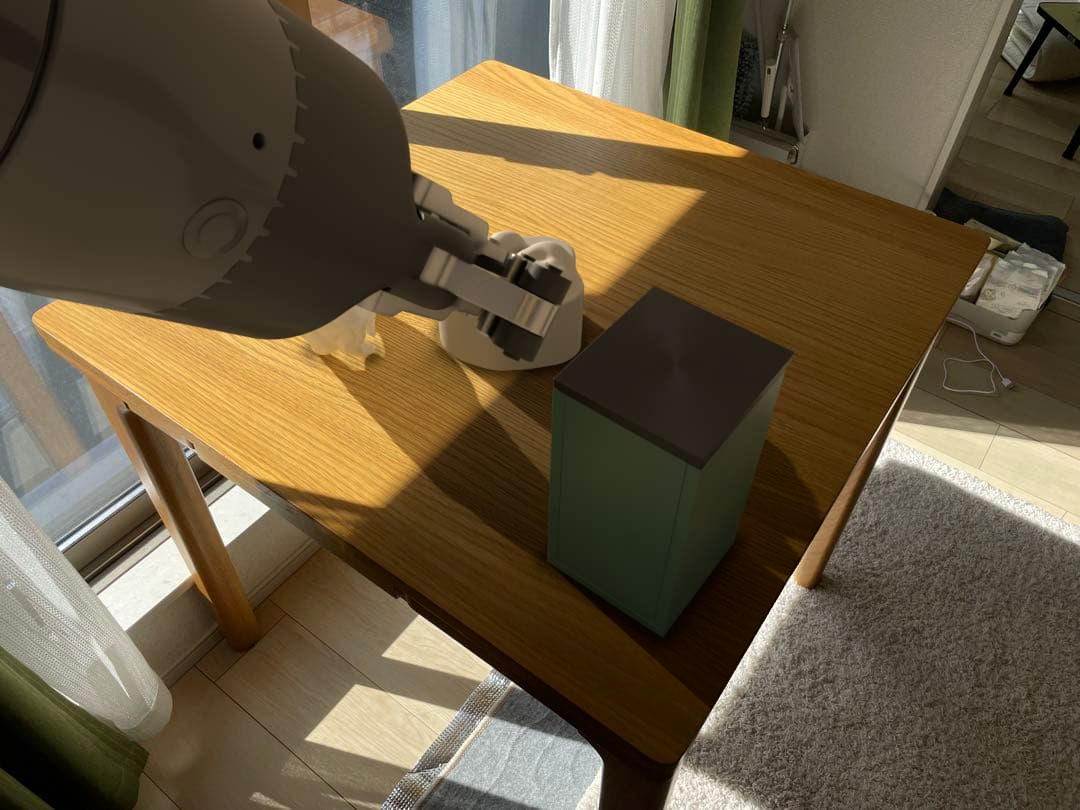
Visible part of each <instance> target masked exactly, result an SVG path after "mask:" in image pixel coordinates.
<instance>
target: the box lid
mask: <svg viewBox="0 0 1080 810" xmlns="http://www.w3.org/2000/svg"><path fill="white" fill-rule="evenodd" d="M795 354H796V353H795V351H794V350H791V349H790V348H788V347H786V346H784V345H781V344H779V343H777V342H774V341H773V340H770V339H768V338H767V337H764V336H762V335H760V334H758V333H755V332H753V331H751V330H749V329H747V328H745V327H743V326H741V325H739V324H737V323H735V322H733V321H730V320H728V319H726V318H723V317H722V316H720V315H718V314H715V313H713V312H711V311H709V310H707V309H705V308H702V307H700V306H698V305H696V304H694V303H693V302H690V301H689V300H686V299H684V298H681V297H680V296H678V295H675V294H673V293H671V292H668V291H667V290H664V289H662V288H661V287H658V286H656V285H653V286H651V287H650V288H649V289H648V290H647V291H646V292H645V293H644V294H643V295H642V296H640V298H639V299H637V301H636V302H634V303H633V304H632V305H631V306H630V307H629V308H628V309H627V310H625V312H624V313H622V314H621V315H620V316H619V317H618V318H617V319H616V320H615V321H613V323H612V324H610V326H608V327H607V328H606V329H605V330H604V331H603V332H602V333H600V335H598V336H597V337H596V339H594V340H593V341H592V342H591V343H590V344H589V345H588V346H587V347H586V348H584V350H582V351H581V352H580V353H579V354H578V355H576V356H575V358H573V359H572V361H570V362H569V363H568V364H567V365H566V366H565V367H564V368H563V369H562V370H561V371H560V372H559V373H557V375H555V377H553V381H552V387H553V388H556V389H557V390H559V391H561V392H563V393H565V394H566V395H568V396H570V397H572V398H574V399H575V400H577V401H579V402H581V403H583V404H584V405H586V406H588V407H590V408H592V409H593V410H595V411H597V412H599V413H600V414H602V415H604V416H606V417H608V418H609V419H611V420H613V421H615V422H617V423H618V424H620V425H622V426H624V427H626V428H627V429H629V430H631V431H633V432H635V433H636V434H638V435H640V436H642V437H644V438H645V439H647V440H649V441H651V442H652V443H654V444H656V445H658V446H660V447H661V448H663V449H665V450H667V451H669V452H670V453H672V454H674V455H676V456H678V457H679V458H681V459H683V460H685V461H687V462H688V463H690V464H692V465H694V466H696V467H697V468H699V469H702V468H703V467H704V466H705V465H706V464H707V462H708V461H709V460H710V459H711V458H712V456H713V455H714V454H715V453H716V452H717V450H718V449H719V448H720V447H721V446H722V444H723V443H724V442H725V441H726V440H727V438H728V437H729V436H730V435H731V434H732V432H733V431H734V430H735V429H736V428H737V426H738V425H739V424H740V423H741V422H742V420H743V419H744V418H745V417H746V416H747V414H748V413H749V412H750V411H751V410H752V408H753V407H754V406H755V405H756V404H757V402H758V401H759V400H760V399H761V398H762V396H763V395H764V394H765V393H766V392H767V390H768V389H769V388H770V387H771V386H772V384H773V383H774V382H775V381H776V380H777V378H778V377H779V376H780V375H781V374H782V372H783V371H784V370H785V369H786V370H787V368H788V367H789V365H790V364H791V363H792V362H793V360H794V356H795Z"/></svg>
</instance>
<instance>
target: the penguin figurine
mask: <svg viewBox="0 0 1080 810" xmlns="http://www.w3.org/2000/svg"><path fill="white" fill-rule="evenodd" d="M376 316H377V313H374V312H371V311H368V310H366V309H363V308H361V307H359V306H357V305H355V306H354V307H352V308H351V309H349V310H348V311H346V312H345V313H344V314H342V315H341V316H339V317H338V318H336V319H335V320H333V321H332V322H330V323H328V324H326V325H325V326H323V327H321V328H319V329H316V330H314V331H312V332H309V333H306V334H303V335H301V336H302V338H303V339H304V340H305V341H306V342H307V343H308V344H309V346H310V348H311V349H312V351H313V352H314V353H315V354H317V355H320V356H328V355H331V354H332V353H334V352H336V351H337V350H338V349H340V350H341V351H342V352H344V353H345V354H348V355H349V356H353V357H355V358H362V357H363V358H364V357H367V356H371V355H372V354H374V353H375V352H376V349H377V348H376V346H375V344H373V343H372V342H368V341H365V340H366V336H367V334H368V336H370V337H371V338H373V337H376Z"/></svg>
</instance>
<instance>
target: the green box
mask: <svg viewBox="0 0 1080 810" xmlns="http://www.w3.org/2000/svg"><path fill="white" fill-rule="evenodd" d="M786 371H787V368H786V369H785V370H784V371H783V372H782V374H781V375H780V376H779V377H778V378H777V380H776V381H775V382H774V383H773V384H772V386H771V387H770V388H769V389H768V390H767V392H766V393H765V394H764V395H763V396H762V398H761V399H760V400H759V401H758V402H757V404H756V405H755V406H754V407H753V408H752V410H751V411H750V412H749V413H748V414H747V416H746V417H745V418H744V419H743V420H742V422H741V423H740V424H739V425H738V426H737V428H736V429H735V430H734V431H733V432H732V434H731V435H730V436H729V437H728V438H727V440H726V441H725V442H724V443H723V444H722V446H721V447H720V448H719V449H718V450H717V452H716V453H715V454H714V455H713V456H712V458H711V459H710V460H709V461H708V462H707V464H706V465H705V466H704V467H703V468H702V469H699V468H697V467H696V466H694V465H692V464H690V463H688V462H687V461H685V460H683V459H681V458H679V457H678V456H676V455H674V454H672V453H670V452H669V451H667V450H665V449H663V448H661V447H660V446H658V445H656V444H654V443H652V442H651V441H649V440H647V439H645V438H644V437H642V436H640V435H638V434H636V433H635V432H633V431H631V430H629V429H627V428H626V427H624V426H622V425H620V424H618V423H617V422H615V421H613V420H611V419H609V418H608V417H606V416H604V415H602V414H600V413H599V412H597V411H595V410H593V409H592V408H590V407H588V406H586V405H584V404H583V403H581V402H579V401H577V400H575V399H574V398H572V397H570V396H568V395H566V394H565V393H563V392H561V391H559V390H557V389H556V388H554V387H553V388H552V404H551V433H550V434H551V435H550V436H551V437H550V462H549V463H550V464H549V468H550V469H549V491H548V492H549V493H548V494H549V495H548V496H549V497H548V523H547V524H548V525H547V526H548V527H547V553H546V555H547V559H546V561H547V563H548V564H550V565H551V566H553V567H555V568H556V569H557V570H558V571H561V572H562V573H563V574H565V575H566V576H568V577H570V578H571V579H573V580H574V581H576V582H577V583H579V584H581V585H582V586H583V587H585V588H587V590H589V591H590V592H593V593H594V594H596V595H597V596H598V597H600V598H602V599H603V600H604V601H606V602H608V603H609V604H610V605H612V606H614V607H615V608H616V609H618V610H620V611H621V612H623V613H624V614H626V615H628V616H629V617H630V618H632V619H634V620H635V621H636V622H638V623H639V624H641V625H642V626H644V627H646V628H647V629H649V630H650V631H652V632H653V633H654V634H656V635H658V636H659V637H661V638H664V637H665V635H666V634H667V633H668V632H669V630H670V629H671V628H672V626H673V625H674V623H675V622H676V621H677V619H678V618H679V617H680V615H681V614H682V613H683V611H684V610H685V609H686V607H687V606H688V605H689V603H690V602H691V601H692V599H693V598H694V596H695V595H696V594H697V593H698V591H699V590H700V589H701V587H702V586H703V585H704V583H705V582H706V580H707V579H708V578H709V576H710V575H711V574H712V573H713V571H714V570H715V568H716V567H717V566H718V565H719V563H720V562H721V560H722V559H723V557H724V556H726V554H727V552H728V551H729V549H730V548H731V547H732V546H733V544H734V543H735V539H736V537H737V533H738V529H739V526H740V524H741V521H742V516H743V515H744V510H745V508H746V503H747V500H748V498H749V497H748V496H749V494H750V491H751V487H752V484H753V480H754V477H755V475H756V470H757V467H758V463H759V460H760V457H761V455H762V450H763V448H764V444H765V440H766V437H767V434H768V430H769V427H770V424H771V421H772V417H773V414H774V411H775V408H776V404H777V400H778V397H779V394H780V391H781V388H782V384H783V381H784V378H785V374H786Z"/></svg>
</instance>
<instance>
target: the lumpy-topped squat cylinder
mask: <svg viewBox="0 0 1080 810" xmlns="http://www.w3.org/2000/svg"><path fill="white" fill-rule="evenodd" d="M490 237H491V238H493V239H495V240H497V241H499V242H501V243H502V244H501V245H500V247H501V248H503V249H505V250H507V251H509V253H510V252H512V253H515V254H517V255H519V256H521V253H524V254H527V255H529V256H531V257H533V258H535V259H536V261H535V262H534V263H536V264H538V265H540V266H542V267H545V264H546V263H549V264H551V265H553V266H555V267H557V268H559V269H561V270H563V272H562V273H561V275H560V276H562V277H564V278H566V279H568V280H570V281H572V284H571V286H570V288H569V290H568V292H567V294H566V296H565V298H564V300H563V302H562V304H561V305H558V304H557V305H558V306H559V307H560V308H559V310H558V312H557V314H556V316H555V318H554V320H553V322H552V324H551V326H550V328H549V330H548V332H547V334H546V336H545V337H543V338H544V340H543V342H542V344H541V346H540V348H539V351H538V353H537V355H536V357H535V359H534V361H533V362H529V361H526V360H524V359H521V358H520V360H519V361H515V360H513V359H511V358H509V357H507V356H505V355H504V354H502V352H503V351H504V350H503V349H501V348H499V347H498V346H496V345H495V344H493V342H492V341H491V339H490V338H488V337H486V336H484V335H481V334H480V333H478V332H476V327H477V325H478V323H479V322H478V317H479V316H478V317H477V316H474V315H471V314H468V315H467V316H465V315H463V314H461V313H459V312H457V311H455V310H454V311H452V312H451V313H450V315H449V316H448V317H447V318H446V319H445V320H443V321H438V328H439V339H440V342H441V345H442V346H443V348H444V349H445V350H446V351H447V352H448V353H449V354H450V355H452V356H453V357H455V358H456V359H458V360H460V361H462V362H463V363H466V364H469V365H472V366H476V367H479V368H483V369H487V370H491V371H497V372H498V371H500V372H501V371H503V372H505V371H522V370H532V369H538V368H539V369H540V368H543V367H550V366H556V365H560V364H564V363H566V362H568V361H570V360H571V359H574V357H576V356H577V354H578V353H579V352H580V351H581V347H582V335H583V334H582V331H583V316H584V296H585V295H584V294H585V284H584V280H583V278H582V277H581V275H580V274H579V272H578V270H577V266H576V265H577V264H576V263H577V262H576V261H577V259H576V258H577V257H576V252H575V250H574V248H573V247H572V246H571V244H569V243H568V242H566V241H564V240H561V239H559V238H556V237H552V236H545V235H529V236H521V234H519V233H518V232H516V231H512V230H501V231H497V232H495V233H493V234H492V235H490ZM508 255H509V254H508ZM480 313H481V312H480ZM479 315H480V314H479Z"/></svg>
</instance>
